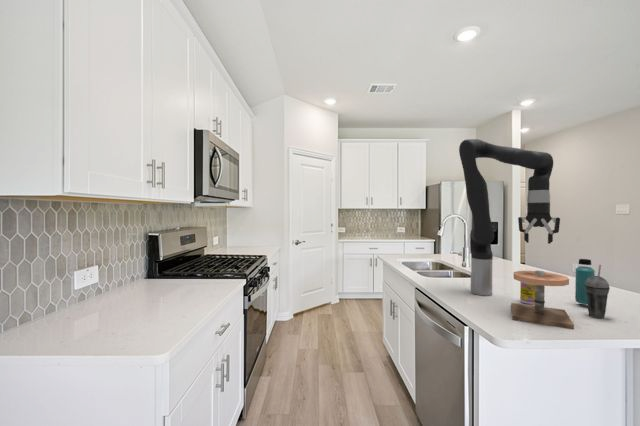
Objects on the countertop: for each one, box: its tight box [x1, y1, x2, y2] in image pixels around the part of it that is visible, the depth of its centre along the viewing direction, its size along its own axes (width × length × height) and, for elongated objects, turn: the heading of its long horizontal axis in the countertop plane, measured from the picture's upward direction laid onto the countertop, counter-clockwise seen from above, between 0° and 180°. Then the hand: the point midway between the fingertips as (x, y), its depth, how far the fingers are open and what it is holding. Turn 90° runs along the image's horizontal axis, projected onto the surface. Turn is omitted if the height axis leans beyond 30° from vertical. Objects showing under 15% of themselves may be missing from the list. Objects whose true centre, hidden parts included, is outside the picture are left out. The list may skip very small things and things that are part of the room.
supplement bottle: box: [519, 282, 535, 305], centre depth 136 cm, size 7×7×13 cm
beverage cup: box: [585, 264, 610, 320], centre depth 119 cm, size 7×7×20 cm
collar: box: [513, 270, 570, 287], centre depth 119 cm, size 17×17×2 cm
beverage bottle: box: [574, 258, 596, 306], centre depth 131 cm, size 6×7×20 cm
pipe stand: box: [510, 270, 575, 330], centre depth 119 cm, size 18×18×18 cm
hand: (538, 242), depth 125 cm, fingers open, 6 cm apart
